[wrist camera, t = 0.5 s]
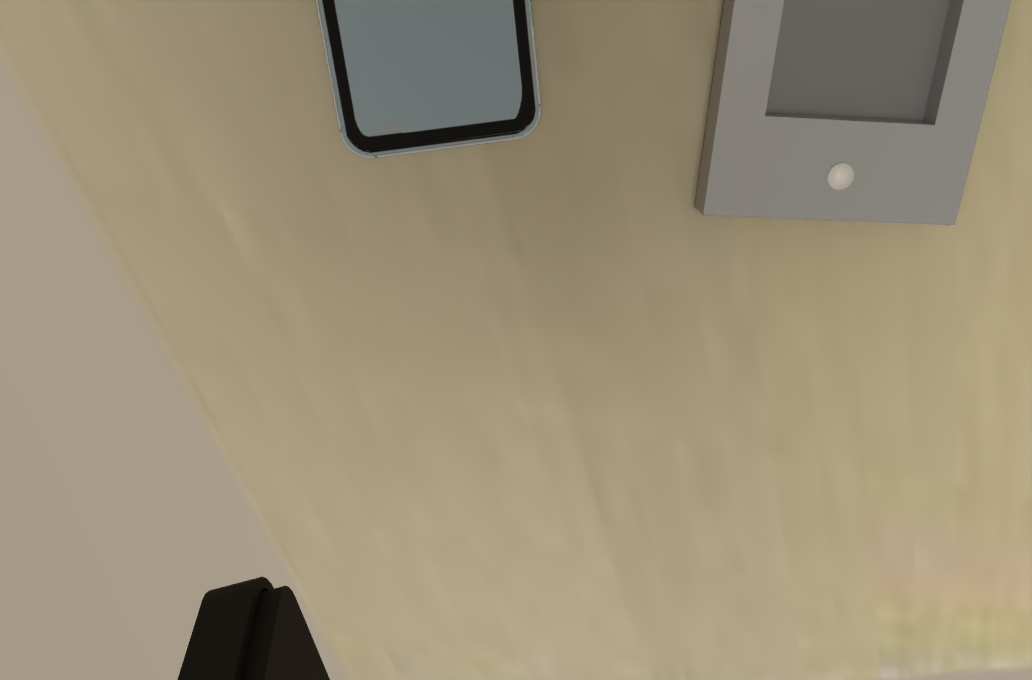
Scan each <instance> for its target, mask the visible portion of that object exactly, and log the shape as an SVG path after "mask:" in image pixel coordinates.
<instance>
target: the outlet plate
mask: <svg viewBox="0 0 1032 680" xmlns="http://www.w3.org/2000/svg"><path fill="white" fill-rule="evenodd" d="M1010 3H1011V0H724V4H723V11H722V18H721V25H720V32H719V39H718V46H717V53H716V60H715V67H714V74H713V81H712V88H711V95H710V102H709V109H708V116H707V123H706V130H705V137H704V144H703V151H702V158H701V165H700V172H699V179H698V186H697V193H696V200H695V207H696V208H697V209H698V210H699V211H700V212H701V213H702V214H703V215H713V216H738V217H762V218H787V219H812V220H837V221H862V222H887V223H912V224H937V225H955V222H956V218H957V214H958V210H959V206H960V202H961V198H962V194H963V190H964V186H965V182H966V178H967V174H968V170H969V166H970V162H971V158H972V154H973V150H974V146H975V142H976V138H977V135H978V131H979V127H980V123H981V119H982V115H983V111H984V107H985V103H986V99H987V95H988V91H989V87H990V83H991V79H992V75H993V71H994V67H995V63H996V59H997V55H998V51H999V47H1000V43H1001V39H1002V35H1003V31H1004V27H1005V23H1006V19H1007V15H1008V11H1009V7H1010Z"/></svg>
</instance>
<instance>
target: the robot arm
mask: <svg viewBox="0 0 1032 680" xmlns="http://www.w3.org/2000/svg"><path fill="white" fill-rule="evenodd" d="M178 680H330V679H329V677H328V674H327V672H326V669H325V667H324V665H323V662H322V660H321V657H320V655H319V653H318V650H317V648H316V645H315V643H314V641H313V638H312V636H311V633H310V631H309V629H308V626H307V624H306V621H305V619H304V617H303V615H302V612H301V610H300V607H299V605H298V602H297V600H296V598H295V596H294V594H293V592H292V590H291V589H290V588H289V587H288V586H283V587H279V588H275V589H274V588H273V586H272V584H271V583H270V582H269V581H268V579H266V578H264V577H259V578H256V579H252V580H248V581H244V582H241V583H237V584H233V585H229V586H226V587H221V588H218V589H214V590H210V591H209V592H207V593H206V594H205V596H204V598H203V600H202V603H201V606H200V609H199V612H198V616H197V619H196V622H195V625H194V629H193V632H192V635H191V638H190V641H189V645H188V648H187V651H186V654H185V658H184V661H183V664H182V667H181V671H180V674H179V677H178Z"/></svg>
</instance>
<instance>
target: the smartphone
mask: <svg viewBox="0 0 1032 680" xmlns="http://www.w3.org/2000/svg"><path fill="white" fill-rule="evenodd" d="M316 6H317V11H318V17H319V22H320V28H321V33H322V38H323V44H324V49H325V55H326V60H327V66H328V71H329V76H330V82H331V87H332V93H333V98H334V104H335V109H336V114H337V120H338V125H339V131H340V135H341V138H342V140H343V142H344V144H345V145H346V147H347V148H348V149H349V150H350V151H352V152H353V153H354V154H356V155H358V156H361V157H364V158H378V157H386V156H393V155H401V154H409V153H416V152H424V151H432V150H439V149H447V148H455V147H462V146H470V145H478V144H485V143H493V142H501V141H508V140H515V139H520V138H522V137H525V136H526V135H528V134H529V133H530V132H532V131H533V129H534V128H535V127H536V125H537V124H538V122H539V119H540V115H541V101H540V90H539V80H538V70H537V59H536V49H535V39H534V28H533V18H532V8H531V0H316Z"/></svg>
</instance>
